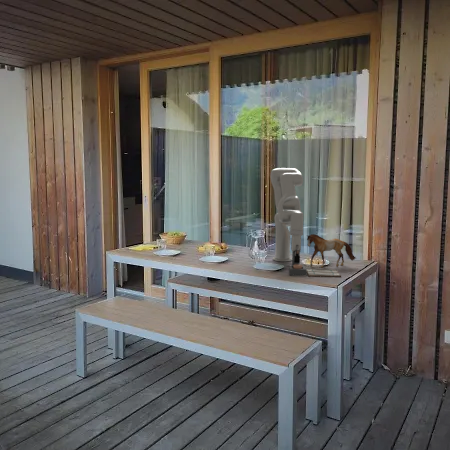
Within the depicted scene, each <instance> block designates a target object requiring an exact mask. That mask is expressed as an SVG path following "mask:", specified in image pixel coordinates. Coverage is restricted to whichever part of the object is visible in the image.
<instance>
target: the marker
mask: <svg viewBox="0 0 450 450" xmlns="http://www.w3.org/2000/svg"><path fill="white" fill-rule="evenodd" d="M291 252H292V251H291ZM294 256H295V251H294V252H292V254H291V258H292V260H291V261H292V262H291V266H293V265H294V264H301V262H300V263H295V262H294Z"/></svg>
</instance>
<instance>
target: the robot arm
mask: <svg viewBox="0 0 450 450" xmlns="http://www.w3.org/2000/svg"><path fill="white" fill-rule="evenodd" d="M270 181H271V185H272V188H273V191H274V203H275V208H276V209H277V212H276V213H275V215H274V225H275V226H274V227H275V248H274V249H275V252H274V253H275V254H274V255H275V256H273V257H272V261H276V262H283V263H284V262H285V263H286V262H291V261H292V256H291V252H294V251H295V256H294V262H295V263H300V264H301V255H300V254H301V251H302V250H301V248H302V236H304V213H303V212H302V209H301V201H300V198H299V196H297V191H296V187H302V185H303V183H304V177H303V174H302V173H301V172H300V171H299V170H298V169H297V168H294V167H293V168H292V167H291V168H290V167H287V168H286V167H281V168H280V167H277V168H274V169H272V170H271V172H270ZM287 227H289V228H290V229H288V228H287Z"/></svg>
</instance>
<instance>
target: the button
mask: <svg viewBox="0 0 450 450" xmlns="http://www.w3.org/2000/svg"><path fill="white" fill-rule="evenodd" d="M302 266H303V265H302V264H301V263H300V264H294V265H293V269H302Z"/></svg>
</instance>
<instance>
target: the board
mask: <svg viewBox="0 0 450 450" xmlns="http://www.w3.org/2000/svg"><path fill="white" fill-rule="evenodd" d="M306 269H307V272H306V275H307V276H308V277H309V278H311V277H312V278H313V277H315V278H318V277H319V278H342V275H341V273H340V272H339V271H338V270H337V269H323V268H322V269H321V268H320V269H318V268H317V269H315V268H314V269H312V268H310V269H309V268H306ZM320 276H321V277H320ZM333 276H334V277H333Z"/></svg>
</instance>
